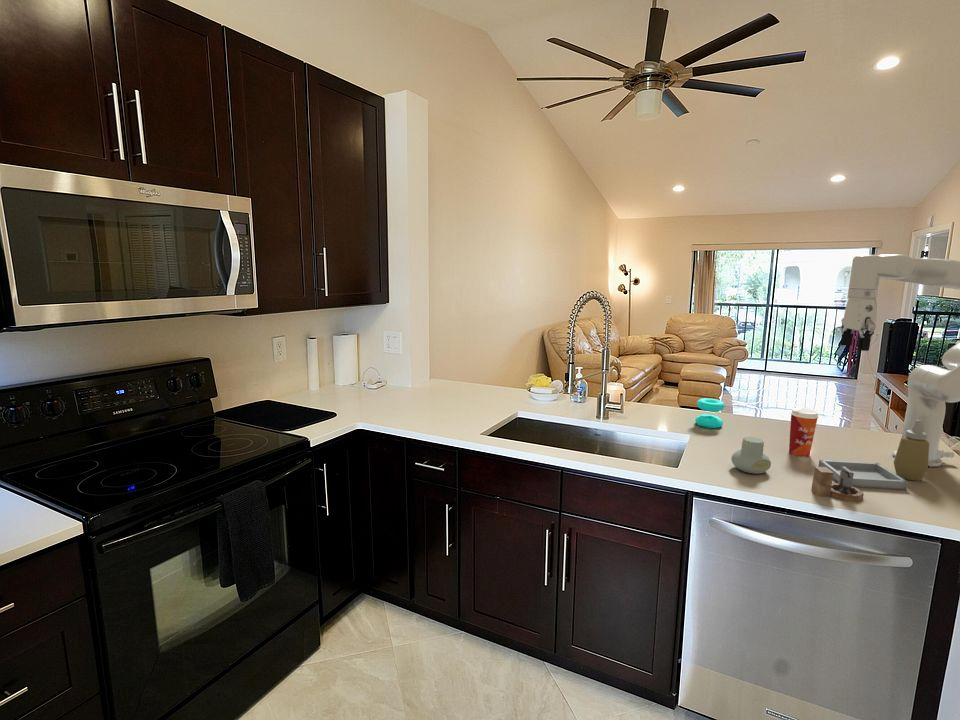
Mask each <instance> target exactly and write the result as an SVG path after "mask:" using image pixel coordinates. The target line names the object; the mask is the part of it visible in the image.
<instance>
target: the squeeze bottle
mask: <svg viewBox="0 0 960 720" xmlns="http://www.w3.org/2000/svg"><path fill="white" fill-rule="evenodd" d="M926 435H927V434H926V433H924V432H922V424H921V420H916V421H915V423H914V425H913V427H912V429H911V430H907V431H906V436H904V437H902V436H901V438H900V441H899V443H898V447H897V449H896V450H897V453H896V456H895V457H894V459H893V467H894V471H895V474H896V475H898V476H899V477H901V478H902V479H904V480H906V481H918V482H919V481H921V480H922V479H923V478H924V476H925V475H926V474H927V472H928V470H929V467H928V458H929V442H928V441H927V440H925V439H926Z"/></svg>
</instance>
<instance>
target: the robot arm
mask: <svg viewBox="0 0 960 720" xmlns="http://www.w3.org/2000/svg"><path fill="white" fill-rule="evenodd" d="M880 279H883V280H891V281H896V282H897V281H898V282H906V283H911V284H912V283H913V284H918V285H923V286H928V287H936V288H945V289H953V290H960V260H956V259H949V258H948V259H947V258H913V257H912V256H909V255H906V254H901V253H900V254H898V253H897V254H896V253H895V254H892V253H891V254H890V253H889V254H879V255H878V254H857V255H855V256H854V257H853V259H852V263H851V270H850V277H849V284H848V289H847V295H846V299H847V302H846V305H845V310H844V316H843V318H841V336H840V337H841V338H840V345H841V346H847V347H848V346H851V347H852V345H853V338H854V333H853V332H854V331H855V332H858V333H859V336H860V337H858V341H857V346H856V347H857V348H856V350H857V351H861V352H868V351H870V348H871V347H870V346H871V341H872V338H873V335H874V334H875V330H876V328H877V325H876V324H877V313H878V303H877V297H878V292H879V291H878V290H879V284H880ZM941 363H942V365H943V366H944V368H943V367H940V366H937V365H932V364H922V365H919V366H917V367H915V368H914V369H912V370H911V371H910V373H909V374H908V379H907V396H908V397H907V404H906V410H905V415H904V421H903V422H904V423H903V428H902V432H901V433H902V434H901V438H902V437H904V436H906V431H907V430H911V429H912V427H913V425H914V423H915V421H916V420H921V424H922V432H924V433H926V434H927V435H926V439H925V440H927V441H928V442H929V458H928V466H929V467H930V468H932V467H937V468H938V467H941V466H942V465H943V460H942V458H950V459H951V458H954V457H955V453H954V452H953V451H945V450H944V449H940V448H939V447H940V442H941V437H942V431H943V426H944V425H943V424H944V421H945V416H946V403H949V404H950V403H958V402H960V341H959V342H957V343H956V344H955V345H953V346H952V347H950V348H949V349H947V350H946V351H945V352H944V353H943V355H942V358H941ZM897 450H898V449H895V450H893V451H892V456H893V457H894V458H895V456H896V453H897ZM929 467H928V468H929Z"/></svg>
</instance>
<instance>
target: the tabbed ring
mask: <svg viewBox="0 0 960 720" xmlns="http://www.w3.org/2000/svg"><path fill="white" fill-rule="evenodd" d="M812 476H813V477H812V483H811V491H812V492H813V493H814V494H816V495H817V496H818V497H833V498H836V499H838V500H839V499H840V500H843V501H847V502H860V501H861V500H862V499H863V498H864V492H863V491H861V490H860V489H859V487H852V488H851V494H844V493H841V492H838V485H839V483H838V482H836V483H835V482H833V480H834V479H833V472H832V471H831V470H829V469H828V468H827V467H818V466H814V471H813V475H812Z"/></svg>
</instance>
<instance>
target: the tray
mask: <svg viewBox="0 0 960 720" xmlns="http://www.w3.org/2000/svg"><path fill="white" fill-rule="evenodd" d="M841 466H842V467H846V468H848V469H849V470H851V471H852V472H853V473H854V476H853V481H852V487H855V488H870V489H881V490H882V489H883V490H900V491H901V490H902V491H903V490H904V491H907V489H908V484H909V482H908V480H907V479H904V478H901V477H899V476H898V475H896V472H895V473H894V472H893V471H892V470H890V469H889V468H887V467H885V466H883V465H882V464H880V463H879V462H864V461H848V460H846V461H845V460H831V459H830V460H829V459H819V461H818V466H817V467H827V468H828V469H829V470H831V471H832V472H833V480H834V481H835V482H836V483H838V484H839V478H840V472H841V471H842V470H841Z"/></svg>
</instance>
